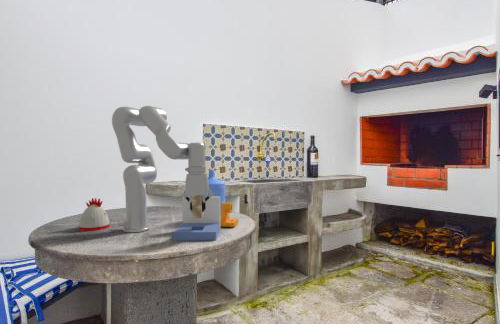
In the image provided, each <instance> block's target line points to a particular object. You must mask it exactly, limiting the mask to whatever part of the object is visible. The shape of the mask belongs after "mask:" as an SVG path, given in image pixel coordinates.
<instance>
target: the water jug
mask: <svg viewBox="0 0 500 324" xmlns="http://www.w3.org/2000/svg"><path fill="white" fill-rule="evenodd" d="M208 182H209V189H210V190H211V192H212V193H213V196H212V197H220V214H221V205H222V202H226V182H224V181H222V180H220V179H219V178H216V177H215V170H214V169H209V170H208ZM207 196H209V194H208V195H206V196H205V197H207Z"/></svg>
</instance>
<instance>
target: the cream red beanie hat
mask: <svg viewBox="0 0 500 324" xmlns="http://www.w3.org/2000/svg"><path fill="white" fill-rule="evenodd" d="M85 204H86V206H87V207H86V209H84V211H83V212H82V214H81V217H80V219H79V223H78V231H82V232H91V231H94V232H95V231H101V230H105V229H106V230H107V229H108V228H110V227H111V225H110V224H111V223H110V218H109V216H108V214H107V211H106V210H105V209H104V208H103V207H102V205H103V200H101V199H100V198H98V199H97V197H95V198H91V200H88V202H85Z"/></svg>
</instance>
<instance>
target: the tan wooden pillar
mask: <svg viewBox="0 0 500 324" xmlns="http://www.w3.org/2000/svg"><path fill="white" fill-rule="evenodd" d="M202 201H203V200H202V196H201V195H192V218H202V217H203V215H204V212H202Z"/></svg>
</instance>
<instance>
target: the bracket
mask: <svg viewBox="0 0 500 324" xmlns="http://www.w3.org/2000/svg"><path fill="white" fill-rule="evenodd" d="M233 209H234V206H233V202H226V201H225V202H222V205H221V214H220V228H221V227H222V228H236V226H238V224H239V218H233V217H232V218H231V217H230V214H232V213H233Z"/></svg>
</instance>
